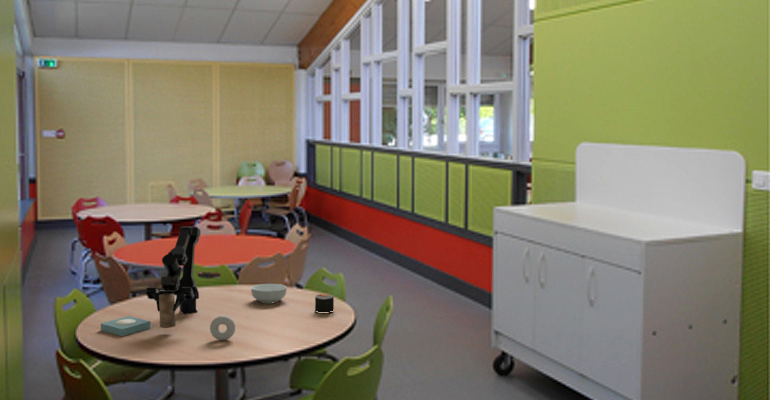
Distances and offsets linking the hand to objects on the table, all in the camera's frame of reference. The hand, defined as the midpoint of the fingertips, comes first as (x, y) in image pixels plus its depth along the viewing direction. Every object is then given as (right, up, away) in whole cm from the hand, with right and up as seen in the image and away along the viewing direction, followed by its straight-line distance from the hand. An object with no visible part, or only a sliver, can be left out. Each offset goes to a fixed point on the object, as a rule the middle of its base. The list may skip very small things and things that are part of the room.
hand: (166, 311), depth 296 cm
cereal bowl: (+33, -4, +55) cm, 65 cm away
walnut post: (0, -6, +2) cm, 7 cm away
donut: (+24, -11, -5) cm, 27 cm away
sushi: (+61, -6, +38) cm, 73 cm away
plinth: (-19, -9, +8) cm, 23 cm away
